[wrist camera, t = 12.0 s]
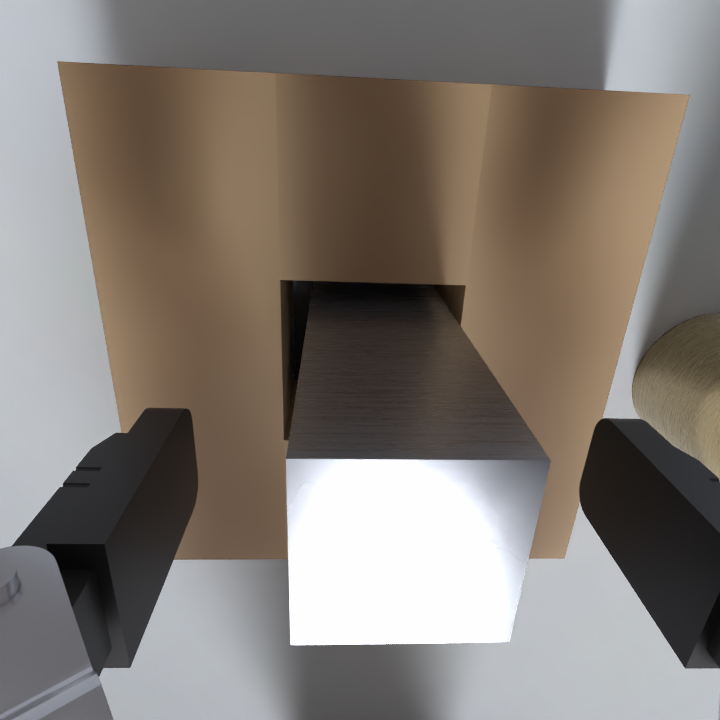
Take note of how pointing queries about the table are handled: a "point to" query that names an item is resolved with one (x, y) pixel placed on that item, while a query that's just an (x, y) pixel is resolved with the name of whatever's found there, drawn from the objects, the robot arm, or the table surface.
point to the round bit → (684, 388)
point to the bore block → (357, 250)
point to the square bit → (404, 476)
